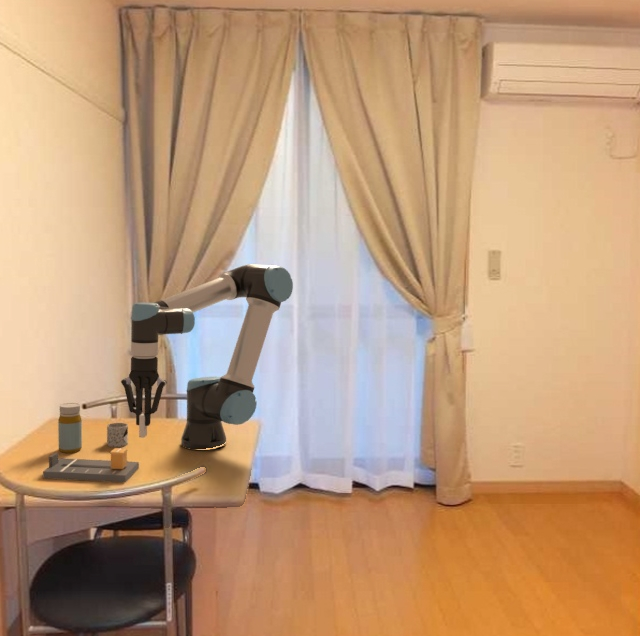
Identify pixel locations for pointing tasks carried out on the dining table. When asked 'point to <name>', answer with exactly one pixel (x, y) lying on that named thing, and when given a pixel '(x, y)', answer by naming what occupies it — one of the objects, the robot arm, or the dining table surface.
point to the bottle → (70, 428)
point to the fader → (118, 458)
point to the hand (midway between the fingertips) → (143, 436)
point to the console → (87, 470)
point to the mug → (117, 434)
